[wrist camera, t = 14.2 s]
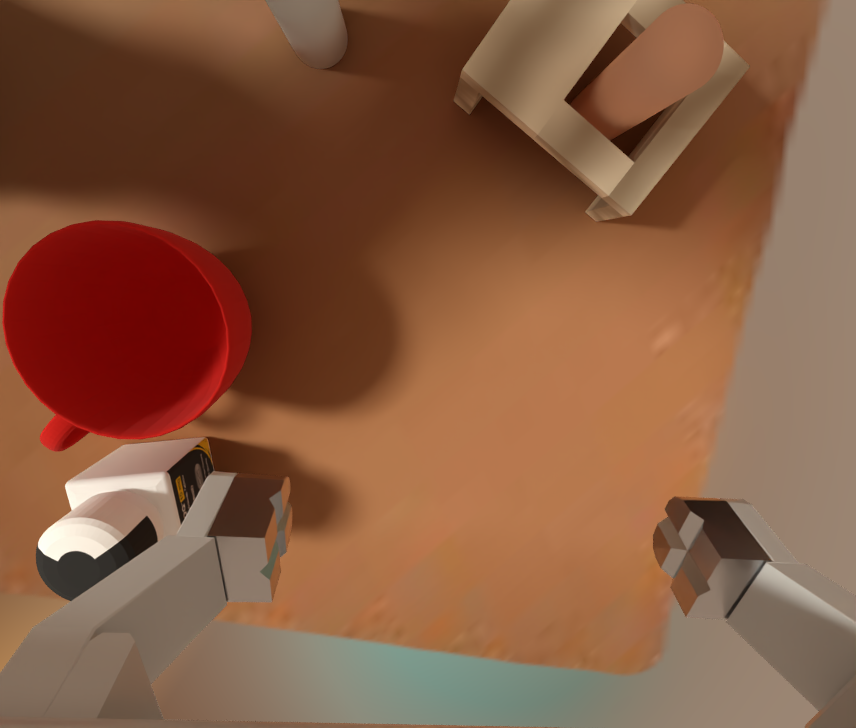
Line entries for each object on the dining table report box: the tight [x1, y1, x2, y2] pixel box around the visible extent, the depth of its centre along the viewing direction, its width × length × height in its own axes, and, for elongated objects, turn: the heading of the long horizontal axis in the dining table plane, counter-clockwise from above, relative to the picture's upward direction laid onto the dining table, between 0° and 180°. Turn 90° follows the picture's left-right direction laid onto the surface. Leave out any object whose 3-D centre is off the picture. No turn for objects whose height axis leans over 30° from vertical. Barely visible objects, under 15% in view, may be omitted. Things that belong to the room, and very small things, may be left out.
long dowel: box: [570, 3, 724, 141], centre depth 29 cm, size 4×4×12 cm
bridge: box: [454, 0, 750, 222], centre depth 32 cm, size 14×11×6 cm
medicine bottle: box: [36, 437, 214, 601], centre depth 35 cm, size 7×7×12 cm
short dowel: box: [266, 0, 348, 69], centre depth 30 cm, size 4×4×7 cm
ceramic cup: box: [2, 220, 252, 451], centre depth 33 cm, size 13×17×10 cm
